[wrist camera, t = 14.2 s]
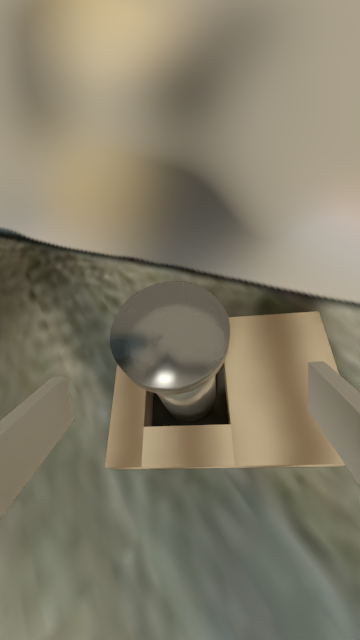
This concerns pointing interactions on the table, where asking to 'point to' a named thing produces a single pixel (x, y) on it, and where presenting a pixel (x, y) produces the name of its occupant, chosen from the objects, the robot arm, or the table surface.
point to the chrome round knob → (173, 345)
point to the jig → (237, 406)
